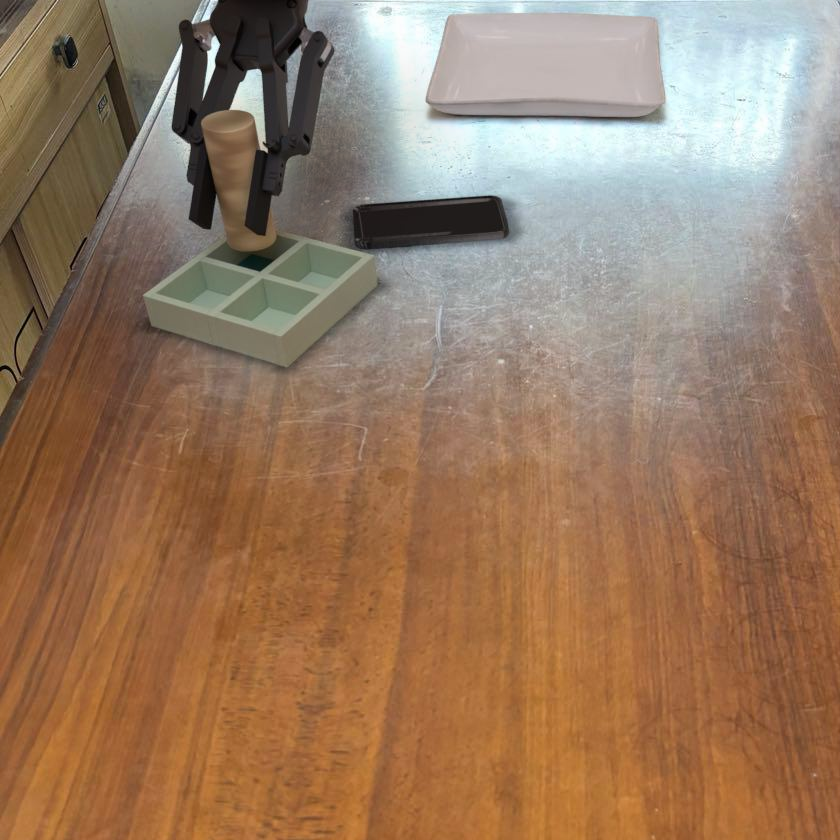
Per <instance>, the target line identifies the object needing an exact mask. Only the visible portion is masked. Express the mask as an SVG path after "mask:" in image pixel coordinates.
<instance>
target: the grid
mask: <svg viewBox="0 0 840 840" xmlns="http://www.w3.org/2000/svg"><path fill="white" fill-rule="evenodd" d="M275 231H276V236H277V237H276V241H275V242H274V243H273V244H272V245H271V246H269V247H267V248H265V249H262V250H258V251H252V252H243V251H237V250H234V249H232V248H231V247H230V246H229V245H228V243H227V239H226V235H223V236H222V237H221V238H219V239H218V240H216V241H215V242H214V243H212V244H211V245H209V246H208V247H206V249H204V250H202V251H201V252H200V253H198V254H196V256H194V257H193V258H192V259H190V260H189V261H187V262H186V263H184V264H183V265H182V266H181V267H179V268H178V269H176V270H175V271H174V272H172V273H171V274H170V275H168V276H167V277H165V278H164V279H162V280H161V281H160V282H159V283H157V284H156V285H154V286H153V287H152V288H150V289H149V290H148V291H146V292H145V293H143V294H142V298H143V302H144V305H145V308H146V313H147V315H148V319H149V322H150V326H151V327H154V328H157V329H161V330H164V331H167V332H171V333H173V334H177V335H180V336H182V337H187V338H189V339H194V340H196V341H200V342H202V343H206V344H210V345H213V346H216V347H220V348H222V349H225V350H229V351H232V352H236V353H238V354H242V355H245V356H248V357H252V358H256V359H259V360H262V361H265V362H269V363H272V364H275V365H278V366H281V367H284V368H289V367H290V366H291V365H292V364H293V363H294V362H295V361H296V360H297V359H298V358H300V356H302V355H303V354H304V353H305V352H306V351H307V350H308V349H309V348H311V346H312V345H314V344H315V343H316V342H317V341H319V339H320V338H321V337H323V336H324V334H326V333H327V332H329V330H330V329H331V328H332V327H334V326H335V325H336V324H337V323H338V322H340V320H341V319H342V318H344V316H346V315H347V314H348V313H349V312H350V311H351V310H352V309H353V308H354V307H356V306H357V305H358V304H359V303H360V302H361V301H362V300H363V299H364V298H365V297H366V296H368V295H369V294H370V293H371V292H372V291H373V290H374V289H375V288H376V287H377V286H378V283H379V282H378V276H377V267H376V259H375V255H374V254H371V253H367V252H363V251H360V250H356V249H351V248H348V247H344V246H340V245H336V244H333V243H329V242H325V241H321V240H317V239H313V238H309V237H305V236H302V235H298V234H294V233H290V232H286V231H283V230H279V229H275Z"/></svg>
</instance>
